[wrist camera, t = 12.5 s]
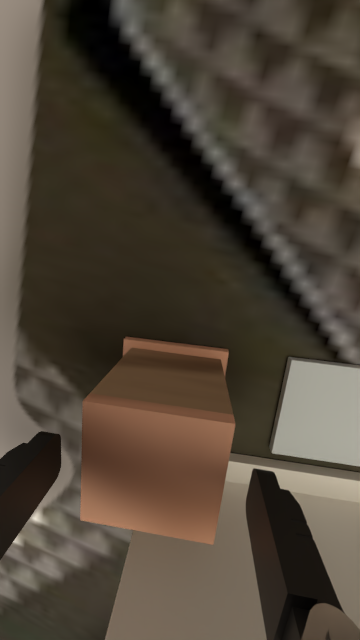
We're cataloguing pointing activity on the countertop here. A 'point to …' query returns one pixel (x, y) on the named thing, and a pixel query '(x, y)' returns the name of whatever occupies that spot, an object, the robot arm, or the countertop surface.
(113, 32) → the countertop surface
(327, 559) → the panel
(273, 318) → the countertop surface
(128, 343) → the terracotta pad
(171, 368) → the copper cube
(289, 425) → the slate pad
